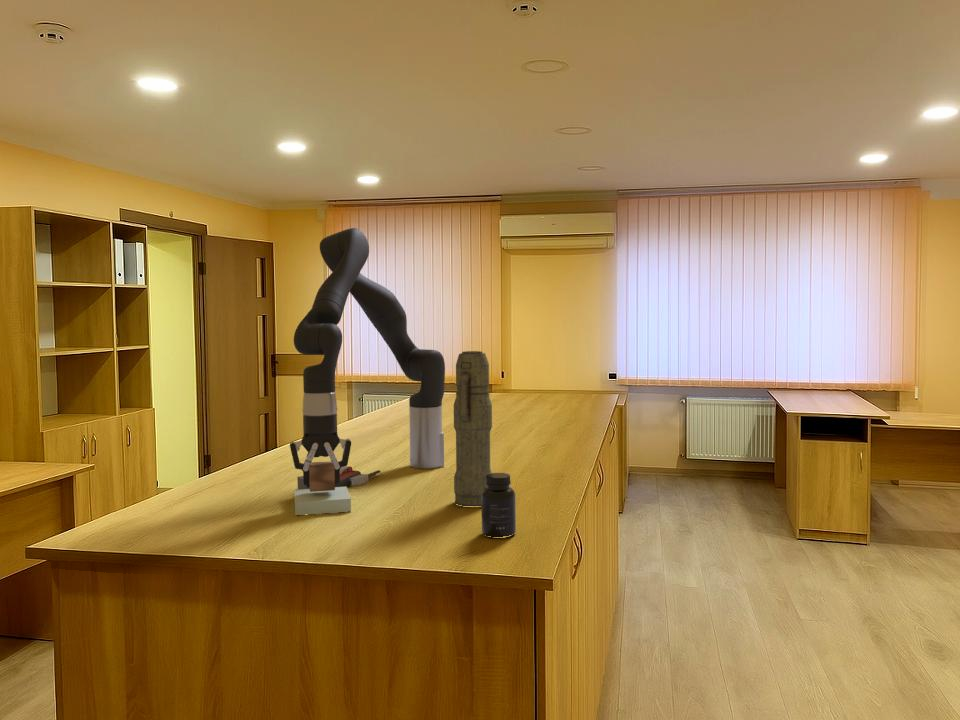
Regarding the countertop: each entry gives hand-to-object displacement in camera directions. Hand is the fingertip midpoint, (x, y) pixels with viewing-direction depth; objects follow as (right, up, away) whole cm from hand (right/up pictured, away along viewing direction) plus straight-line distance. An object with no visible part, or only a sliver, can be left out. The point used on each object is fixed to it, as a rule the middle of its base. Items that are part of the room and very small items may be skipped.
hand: (321, 485), depth 174 cm
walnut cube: (0, -1, 0) cm, 1 cm away
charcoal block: (-4, -4, +10) cm, 11 cm away
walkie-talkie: (+2, -4, +25) cm, 26 cm away
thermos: (+34, -5, +3) cm, 35 cm away
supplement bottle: (+40, -6, -21) cm, 46 cm away
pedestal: (0, -5, 0) cm, 5 cm away
